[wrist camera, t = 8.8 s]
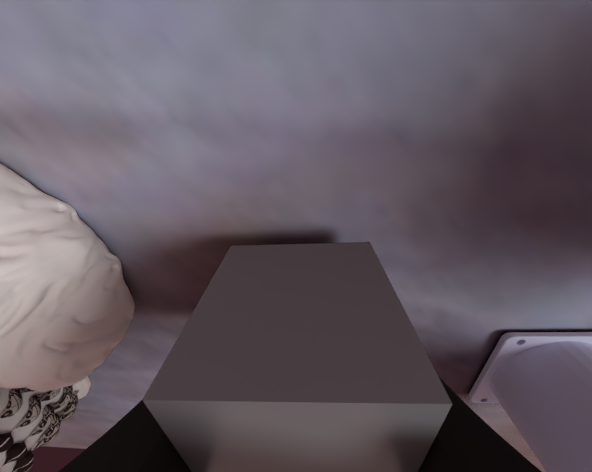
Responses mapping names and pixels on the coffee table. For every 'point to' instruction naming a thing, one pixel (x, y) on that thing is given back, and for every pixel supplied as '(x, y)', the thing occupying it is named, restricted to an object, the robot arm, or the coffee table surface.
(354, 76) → the coffee table surface
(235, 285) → the grey matte cube
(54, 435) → the decorative candle
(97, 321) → the bust
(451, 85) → the coffee table surface
